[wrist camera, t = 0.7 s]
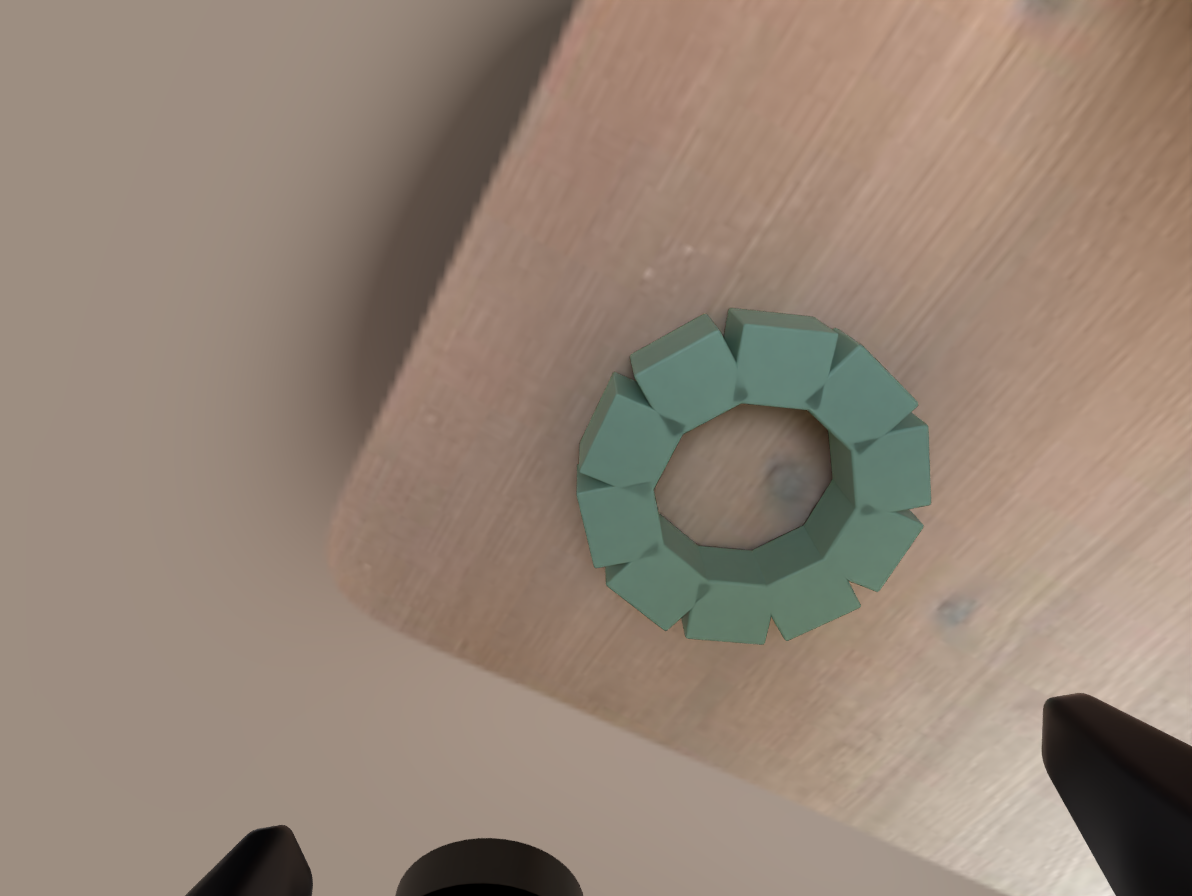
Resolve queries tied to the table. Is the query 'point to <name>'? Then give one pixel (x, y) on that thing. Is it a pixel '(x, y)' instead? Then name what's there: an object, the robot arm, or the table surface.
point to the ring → (790, 562)
